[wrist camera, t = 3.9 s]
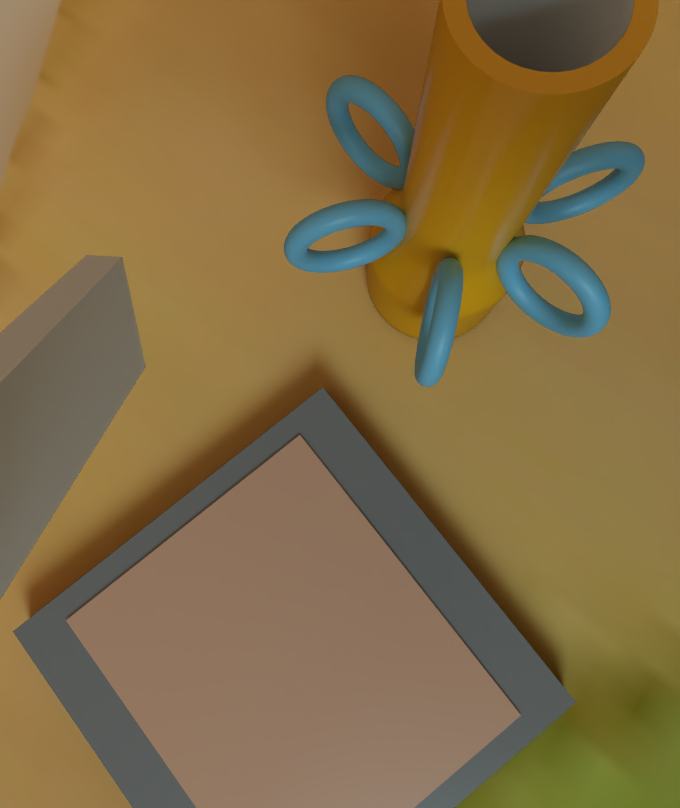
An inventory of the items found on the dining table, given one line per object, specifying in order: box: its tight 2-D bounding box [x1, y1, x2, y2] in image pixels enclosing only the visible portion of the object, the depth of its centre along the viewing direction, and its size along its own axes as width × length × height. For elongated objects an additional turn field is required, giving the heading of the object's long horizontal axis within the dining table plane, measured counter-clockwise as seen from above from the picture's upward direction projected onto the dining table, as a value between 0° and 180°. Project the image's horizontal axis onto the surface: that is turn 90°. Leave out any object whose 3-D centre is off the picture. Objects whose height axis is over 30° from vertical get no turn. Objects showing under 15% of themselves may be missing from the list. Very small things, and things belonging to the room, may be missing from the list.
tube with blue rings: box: [284, 0, 658, 387], centre depth 18 cm, size 12×10×15 cm
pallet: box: [13, 387, 576, 808], centre depth 23 cm, size 16×16×1 cm
